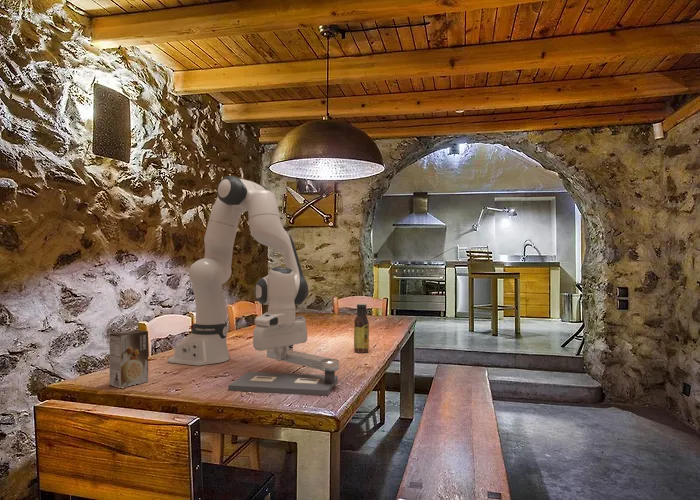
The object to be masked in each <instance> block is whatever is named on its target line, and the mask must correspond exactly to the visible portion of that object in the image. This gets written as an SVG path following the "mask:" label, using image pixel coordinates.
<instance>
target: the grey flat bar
mask: <svg viewBox="0 0 700 500" xmlns="http://www.w3.org/2000/svg"><path fill="white" fill-rule="evenodd" d="M282 350H283V349H282V347H281V350H280V352H281V353H282ZM266 358H270V359H273V360H277V355H276V353H275V352H274V348H273V349H268V350H266ZM281 362H286V363H289V364H295V365H298V366H302V367H306V368H307V367H308V368H311V369H316V370H319V371H323V372H325V371H335V372H337V371H339V369H340V359H337V358H331V357H330V358H329V357H327V356H326V357H325V356H321V355H316V354H311V353H308V352H307V353H306V352H302V351H297V350H293V349H292V350H291V349H289V350H288V352H287V354H286V360H282V361H281Z"/></svg>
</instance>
